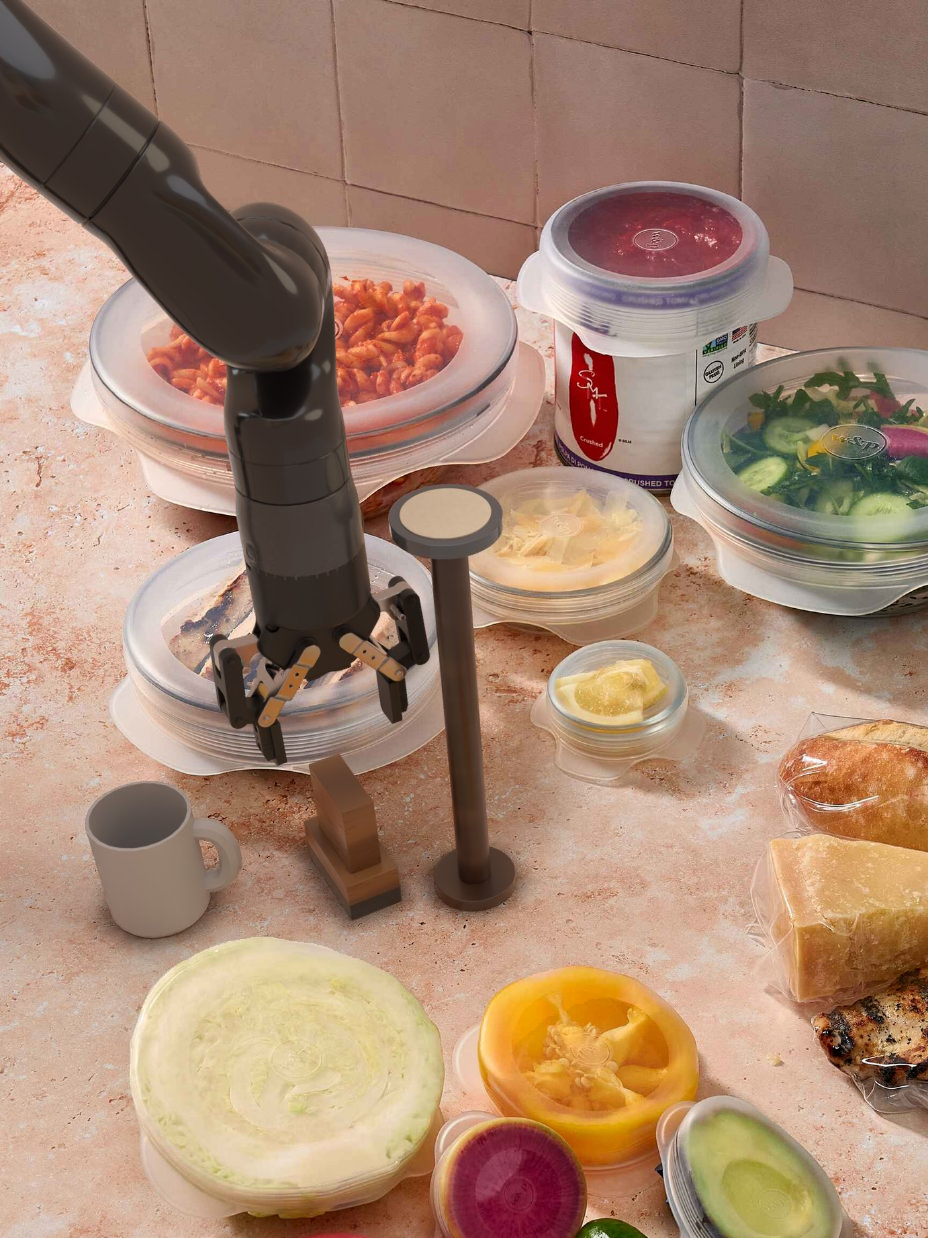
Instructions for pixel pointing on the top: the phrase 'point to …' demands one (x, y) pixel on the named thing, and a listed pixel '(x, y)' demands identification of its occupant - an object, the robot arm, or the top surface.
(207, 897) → the cup
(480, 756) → the stand
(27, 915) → the top surface
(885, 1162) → the top surface
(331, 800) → the brush
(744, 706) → the top surface
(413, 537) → the plate
